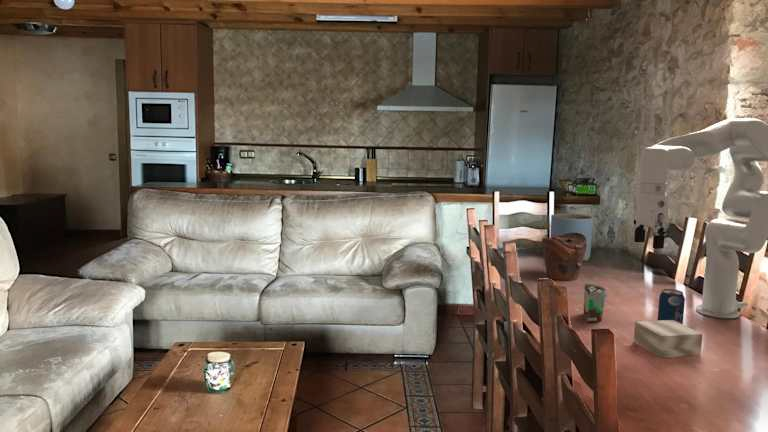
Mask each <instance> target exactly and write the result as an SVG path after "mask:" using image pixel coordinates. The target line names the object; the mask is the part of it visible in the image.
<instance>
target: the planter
mask: <svg viewBox="0 0 768 432" xmlns="http://www.w3.org/2000/svg"><path fill="white" fill-rule="evenodd" d="M594 218H595V217H594V216H592V215H587V214H581V213H580V214H578V213H553V214H551V216H550V238H552V237H555V236H559V235H563V234H567V233H580V234H582V235H584V236H585V237H586V239H587V250H586V252H585V255H584V259H583V262H584V261H586V262H589V259H590V257H591V249H592V240H593V230H594Z"/></svg>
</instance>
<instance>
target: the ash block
mask: <svg viewBox="0 0 768 432" xmlns="http://www.w3.org/2000/svg"><path fill="white" fill-rule="evenodd" d="M633 343H635V344H636V345H638V346H640V347H641V348H643V349H645V350H646V351H648V352H649V353H651V354H653V355H654V356H656V357H658V358H659V359H661V358H662V359H663V358H665V359H666V358H677V357H678V358H679V357H696V356H697V357H699V356H701V355H702V354H701V353H702V352H701V351H702V343H703V333H701V332H699V331H697V330H695V329H692V328H690V327H689V326H687V325H684V323H683V324H681V323H679V322H677V321H675V320H660V321H657V320H643V321H642V320H641V321H635V322H634V334H633Z"/></svg>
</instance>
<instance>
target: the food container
mask: <svg viewBox="0 0 768 432" xmlns="http://www.w3.org/2000/svg"><path fill="white" fill-rule="evenodd" d="M607 298H608V292H607V290H606V288H605V287H603V286H601V285H598V284H594V283H593V284H592V283H584V296H583V313H582V314H583V317H584V318H585V321H586V323H587V324H596V323H600V322H602V321H603V313H604V307H605V300H606V299H607Z"/></svg>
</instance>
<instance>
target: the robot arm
mask: <svg viewBox="0 0 768 432" xmlns="http://www.w3.org/2000/svg"><path fill="white" fill-rule="evenodd" d="M727 149H728V151H729V154H730V156H731V157H730V158H731V160H732V163H733V168H734V172H733V174H734V175H733V177H732V179H731V182H730V185H729V186H728V189H727V191H726V194H725V196H724V198H723V201H722V205H721V209H722V212H723V213H724V214H725V215H726V216H728V217H731V218H737V219H743V221H741V220H737V219H731V218H722V217H721V218H714V219H712V220H710V221H709V222H708V223H707V225H706V227H705V229H704V238H705V246H706V251H705V253H706V257H705V268H704V277H703V278H704V279H703V287H702V288H703V289H702V301H701V304H698V305H697V306H696V308H695V309H696V311H697V313H699V314H701V315H704V316H708V317H713V318H718V319H737V318H739V317H740V314H741V313H740V311H739V310H738V309H740V308H741V309H744V308H745V309H747V308H748V306H749V303H748V302H747V301H740V302H739V300H737V299H736V298H737V287H738V278H739V268H740V261H739V256H738V254H737V252H741V253H747V254H755V253H757V252H759V251H761V250H762V249H763V247H764V246H765V243H766V242H767V239H768V191H765V190H761V188H762V186H763V183H764V173H763V170H762V169H761V167H760V165H759V162H766V163H767V162H768V124H767V123H766V122H765V121H763V120H760V119H758V118H729V119H725V120H722V121H720V122H718V123H715V124H713V125H710V126H709V127H706V128H705V129H702V130H700V131H696V132H692V133H688V134H685V135H684V134H683V135H679V136H675V137H671V138H668V139H665V140H662V141H661V142H660V141H659V142H658V143H656V144H654V145H652V146H651V147H650V146H649V147H644V148H642V149H641V152H640V163H639V165H640V167H639V180H638V181H639V183H638V195H637V200H636V207H635V212H633V213H632V218H633V220H632V221H633V224H634V226H633V228H634V239H633V240H634V242H635V243H645V242H646V229H645V228H646V227H648V228H650V229H652V230H653V233H654V234H653V237H652V249H655V250H658V249H659V250H660V249H664V247H665V236H666V235H667V232H668V230H669V227H670V224H671V223H670V221H669V202H668V196H667V186H668V172H674V173H675V172H677V173H680V172H681V173H682V172H686V171H688V170H690V169H691V168H692V167H693V166H694V164H695V161H696V160H697V159H705V158H710V157H712V156H715V155H717V154H719V153H721V152H723V151H726V150H727ZM744 220H748V221H744ZM736 251H737V252H736Z"/></svg>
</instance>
